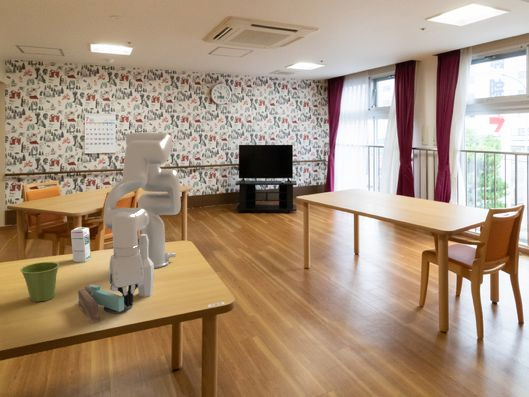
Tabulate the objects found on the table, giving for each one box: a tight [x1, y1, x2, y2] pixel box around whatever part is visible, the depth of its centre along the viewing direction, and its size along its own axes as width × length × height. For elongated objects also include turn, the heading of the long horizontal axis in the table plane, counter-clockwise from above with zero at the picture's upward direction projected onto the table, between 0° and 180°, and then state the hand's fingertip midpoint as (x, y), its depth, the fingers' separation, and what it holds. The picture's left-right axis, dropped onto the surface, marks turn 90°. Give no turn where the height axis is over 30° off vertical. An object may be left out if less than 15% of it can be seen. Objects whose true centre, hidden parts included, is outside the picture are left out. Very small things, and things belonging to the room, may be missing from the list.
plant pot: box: [20, 261, 60, 303], centre depth 141 cm, size 12×12×11 cm
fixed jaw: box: [77, 284, 100, 324], centre depth 132 cm, size 5×18×6 cm, turn 38°
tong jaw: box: [91, 284, 124, 312], centre depth 133 cm, size 2×14×6 cm, turn 59°
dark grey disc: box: [103, 304, 133, 314], centre depth 136 cm, size 9×9×1 cm
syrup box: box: [70, 226, 92, 263], centre depth 183 cm, size 6×6×14 cm
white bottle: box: [137, 233, 155, 298], centre depth 145 cm, size 6×6×22 cm
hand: (128, 304), depth 134 cm, fingers closed
